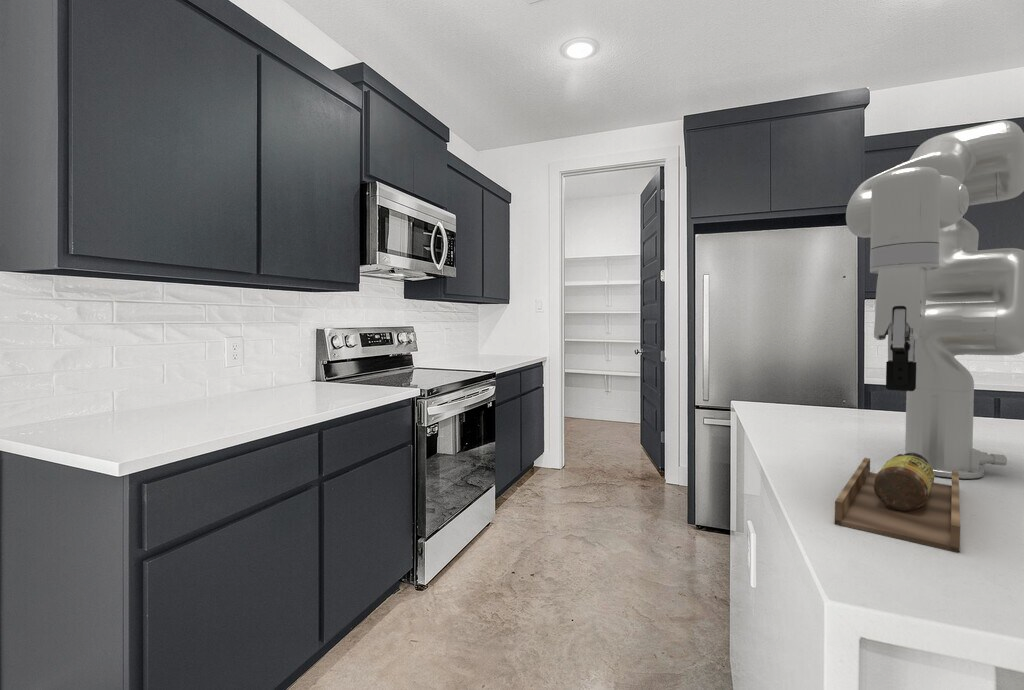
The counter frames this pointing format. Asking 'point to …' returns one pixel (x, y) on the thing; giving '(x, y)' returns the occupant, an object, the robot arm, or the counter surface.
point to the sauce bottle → (904, 482)
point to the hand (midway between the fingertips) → (900, 389)
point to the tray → (901, 512)
